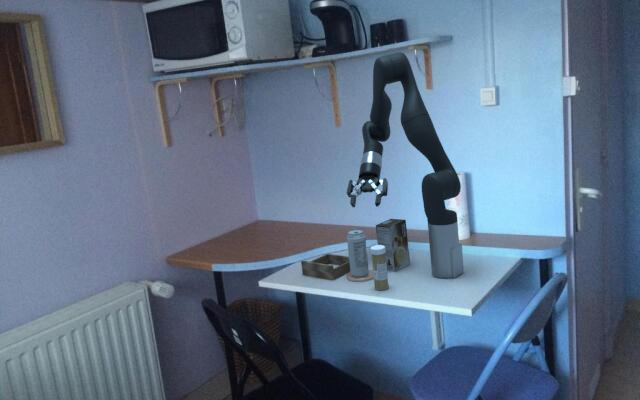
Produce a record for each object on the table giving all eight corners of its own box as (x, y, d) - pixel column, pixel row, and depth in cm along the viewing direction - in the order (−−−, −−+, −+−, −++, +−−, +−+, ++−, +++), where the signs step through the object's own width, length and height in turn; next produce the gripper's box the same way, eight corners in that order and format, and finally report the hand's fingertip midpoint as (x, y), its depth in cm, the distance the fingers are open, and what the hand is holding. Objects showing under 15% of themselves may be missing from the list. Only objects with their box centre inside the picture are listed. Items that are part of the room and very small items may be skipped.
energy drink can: (364, 271, 188) (359, 228, 185) (372, 275, 183) (367, 232, 180) (348, 274, 186) (343, 232, 183) (355, 280, 181) (350, 235, 178)
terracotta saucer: (382, 273, 186) (382, 271, 185) (364, 283, 178) (364, 281, 178) (358, 269, 192) (358, 268, 192) (340, 279, 185) (340, 277, 185)
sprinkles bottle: (373, 286, 175) (368, 245, 172) (387, 284, 175) (383, 243, 172) (376, 291, 170) (371, 249, 168) (390, 289, 171) (386, 247, 168)
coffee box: (395, 262, 196) (391, 218, 193) (410, 264, 191) (406, 219, 188) (379, 270, 189) (375, 224, 186) (395, 272, 185) (390, 226, 182)
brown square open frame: (358, 267, 195) (357, 253, 194) (333, 280, 185) (331, 266, 184) (328, 262, 204) (327, 249, 203) (302, 274, 194) (301, 261, 193)
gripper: (348, 162, 199) (342, 200, 191) (387, 160, 194) (382, 199, 186) (354, 174, 205) (348, 212, 197) (392, 172, 200) (387, 210, 192)
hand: (364, 205), depth 191 cm, fingers open, 8 cm apart
